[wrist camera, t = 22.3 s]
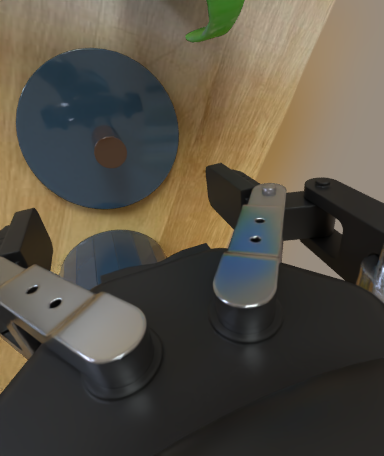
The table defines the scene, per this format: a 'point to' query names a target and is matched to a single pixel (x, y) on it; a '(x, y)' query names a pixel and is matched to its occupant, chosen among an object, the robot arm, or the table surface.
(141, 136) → the lid
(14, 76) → the table surface
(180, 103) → the table surface
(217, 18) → the snack cup
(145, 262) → the pot
